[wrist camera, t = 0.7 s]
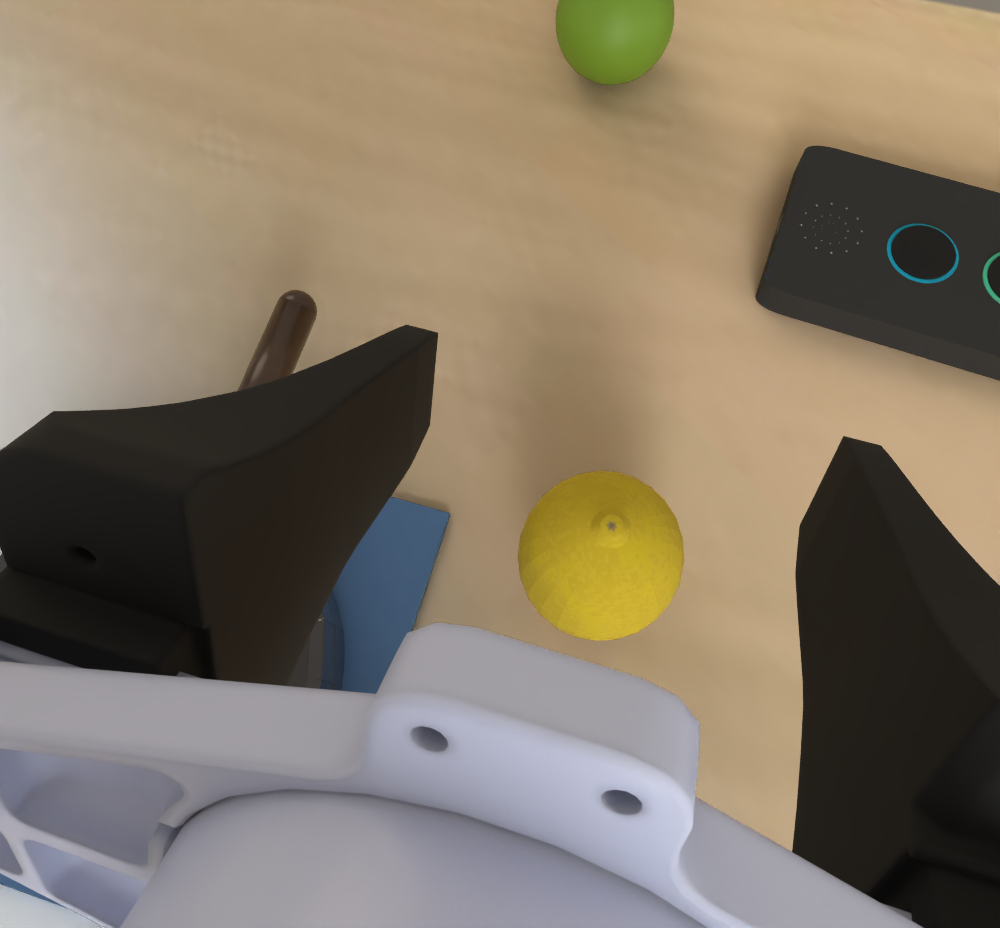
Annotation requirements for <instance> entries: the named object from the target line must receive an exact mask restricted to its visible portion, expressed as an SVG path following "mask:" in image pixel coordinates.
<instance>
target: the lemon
mask: <svg viewBox="0 0 1000 928" xmlns="http://www.w3.org/2000/svg"><path fill="white" fill-rule="evenodd" d="M518 561H519V569H520V577H521V580H522V583H523V586H524V588H525V591H526V593H527V596H528V598H529V599H530V601H531V602H532V603H533V605H534V606H535V608H536V609H537V610H538V612H539V613H540V614H541V615H542V616H543V617H544V618H545V619H546V620H548V621H549V622H550V623H551V624H552V625H554V626H555V627H556V628H558V629H560V630H562V631H564V632H566V633H568V634H570V635H572V636H574V637H579V638H584V639H589V640H594V641H597V640H615V639H619V638H622V637H625V636H628V635H631V634H634V633H637V632H638V631H640V630H641V629H643V628H644V627H646V626H647V625H649V624H650V623H652V622H653V621H655V620H656V619H657V618H658V616H659V615H660V614H661V613H662V612H663V611H664V610H665V609H666V607H667V606H668V605H669V604H670V602H671V600H672V598H673V596H674V594H675V592H676V590H677V588H678V586H679V584H680V580H681V574H682V569H683V564H684V552H683V539H682V535H681V532H680V529H679V526H678V523H677V520H676V517H675V516H674V514H673V512H672V511H671V509H670V508H669V506H668V505H667V503H666V502H665V500H664V499H663V498H662V497H661V496H660V495H659V494H658V493H657V492H655V491H654V490H653V489H652V488H651V487H650V486H648V485H646V484H645V483H643V482H641V481H640V480H638V479H636V478H635V477H631V476H628V475H625V474H621V473H618V472H608V471H594V472H589V473H583V474H578V475H576V476H573V477H571V478H569V479H567V480H564V481H562V482H560V483H559V484H557V485H556V486H555V487H554V488H552V489H551V490H550V491H549V492H547V493H546V494H545V495H544V496H543V497H542V498H541V499H540V500H539V502H538V503H537V504H536V506H535V507H534V508H533V510H532V511H531V512H530V514H529V516H528V518H527V520H526V523H525V525H524V528H523V530H522V533H521V536H520V544H519V552H518Z"/></svg>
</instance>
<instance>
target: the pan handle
mask: <svg viewBox="0 0 1000 928" xmlns="http://www.w3.org/2000/svg"><path fill="white" fill-rule="evenodd" d="M316 316H317V307H316V304H315V301H314V300H313V298H312V297H311V296H310V295H308V294H307V293H305V292H303V291H299V290H291V291H288V292H286V293H284V294H283V295H282V296H281V297H280V298H279V300H278V301H277V304H276V306H275V308H274V310H273V312H272V315H271V317H270V319H269V321H268V324H267V326H266V328H265V330H264V333H263V335H262V337H261V339H260V342H259V344H258V346H257V348H256V350H255V353H254V355H253V357H252V359H251V362H250V364H249V366H248V368H247V371H246V373H245V375H244V377H243V380H242V382H241V384H240V386H239V389H238V391H240V390H244V389H247V388H251V387H254V386H258V385H261V384H265V383H268V382H271V381H274V380H277V379H280V378H283V377H286V376H289V375H292V373H293V371H294V369H295V366H296V364H297V361H298V359H299V357H300V354H301V352H302V350H303V347H304V345H305V343H306V340H307V338H308V336H309V333H310V331H311V329H312V326H313V324H314V322H315V319H316Z"/></svg>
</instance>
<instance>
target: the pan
mask: <svg viewBox="0 0 1000 928" xmlns="http://www.w3.org/2000/svg"><path fill="white" fill-rule="evenodd" d="M6 567H7V565H6V562H5V559H4V556H3V553H2V554H1V555H0V573H1V572H2V571H3V570H4V569H5V568H6ZM344 662H345V643H344V629H343V625H342V620H341V616H340V612H339V608H338V604H337V601H336V599H335V596H334V593H333V590H332V592H331V594H330V596H329V598H328V600H327V602H326V604H325V606H324V608H323V610H322V612H321V614H320V616H319V618H318V620H317V622H316V624H315V626H314V628H313V630H312V632H311V634H310V636H309V638H308V640H307V643H306V645H305V647H304V649H303V651H302V653H301V655H300V657H299V660H298V662H297V664H296V666H295V668H294V671H293V673H292V675H291V677H290V679H289V682H288V684H287V686H292V687H304V688H315V689H327V690H338V691H341V690H342V682H343V675H344Z"/></svg>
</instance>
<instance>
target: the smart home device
mask: <svg viewBox="0 0 1000 928" xmlns="http://www.w3.org/2000/svg"><path fill="white" fill-rule="evenodd" d="M756 300H757V301H758V302H759V303H760V304H761V305H762V306H764V307H766V308H767V309H769V310H771V311H774V312H776V313H779V314H782V315H786V316H789V317H792V318H796V319H799V320H802V321H805V322H809V323H812V324H815V325H819V326H822V327H825V328H829V329H832V330H835V331H838V332H842V333H845V334H848V335H852V336H855V337H858V338H862V339H865V340H868V341H871V342H875V343H878V344H881V345H885V346H888V347H891V348H895V349H898V350H901V351H905V352H908V353H911V354H914V355H918V356H921V357H924V358H928V359H931V360H934V361H938V362H941V363H944V364H947V365H951V366H954V367H957V368H961V369H964V370H967V371H971V372H974V373H977V374H980V375H984V376H987V377H990V378H994V379H997V380H1000V193H998V192H994V191H990V190H986V189H983V188H979V187H975V186H972V185H968V184H964V183H961V182H957V181H953V180H950V179H946V178H942V177H938V176H935V175H931V174H927V173H924V172H920V171H916V170H913V169H909V168H905V167H901V166H898V165H894V164H890V163H887V162H883V161H879V160H876V159H872V158H868V157H864V156H861V155H857V154H853V153H850V152H846V151H842V150H839V149H835V148H830V147H825V146H810V147H807V148H806V149H805V151H804V153H803V155H802V157H801V159H800V162H799V164H798V166H797V168H796V170H795V172H794V175H793V178H792V181H791V184H790V188H789V191H788V194H787V197H786V201H785V204H784V207H783V210H782V213H781V217H780V220H779V223H778V226H777V229H776V233H775V236H774V239H773V242H772V246H771V249H770V252H769V255H768V258H767V262H766V265H765V268H764V271H763V274H762V278H761V281H760V284H759V287H758V291H757V294H756Z"/></svg>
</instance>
